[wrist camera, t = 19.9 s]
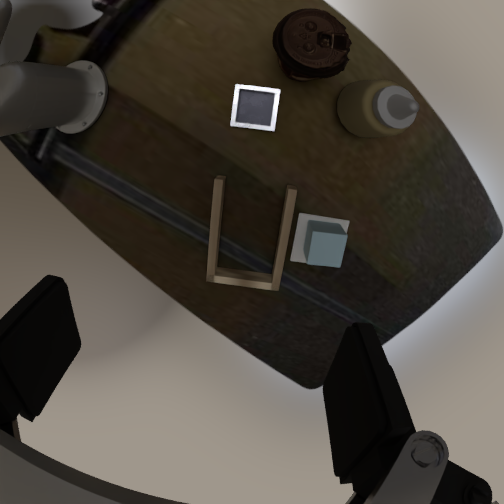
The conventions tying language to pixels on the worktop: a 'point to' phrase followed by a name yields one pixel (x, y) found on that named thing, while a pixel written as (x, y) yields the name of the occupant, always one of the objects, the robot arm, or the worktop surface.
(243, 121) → the tray
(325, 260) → the blue block
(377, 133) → the squeeze bottle
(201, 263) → the worktop surface
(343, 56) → the coffee cup
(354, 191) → the worktop surface
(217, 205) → the cubby
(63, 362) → the robot arm
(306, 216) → the mat
